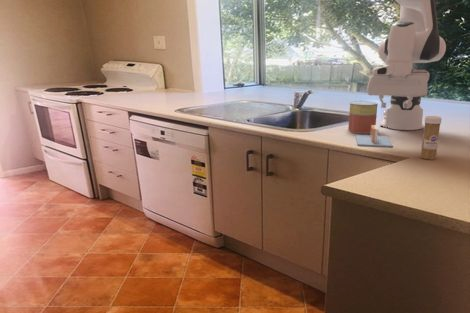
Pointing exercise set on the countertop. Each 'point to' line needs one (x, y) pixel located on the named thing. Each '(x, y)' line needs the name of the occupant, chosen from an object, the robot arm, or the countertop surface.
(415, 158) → the countertop surface
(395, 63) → the robot arm
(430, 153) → the sprinkles bottle
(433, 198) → the countertop surface
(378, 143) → the mat
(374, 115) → the canned food
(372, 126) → the tile
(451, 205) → the countertop surface
